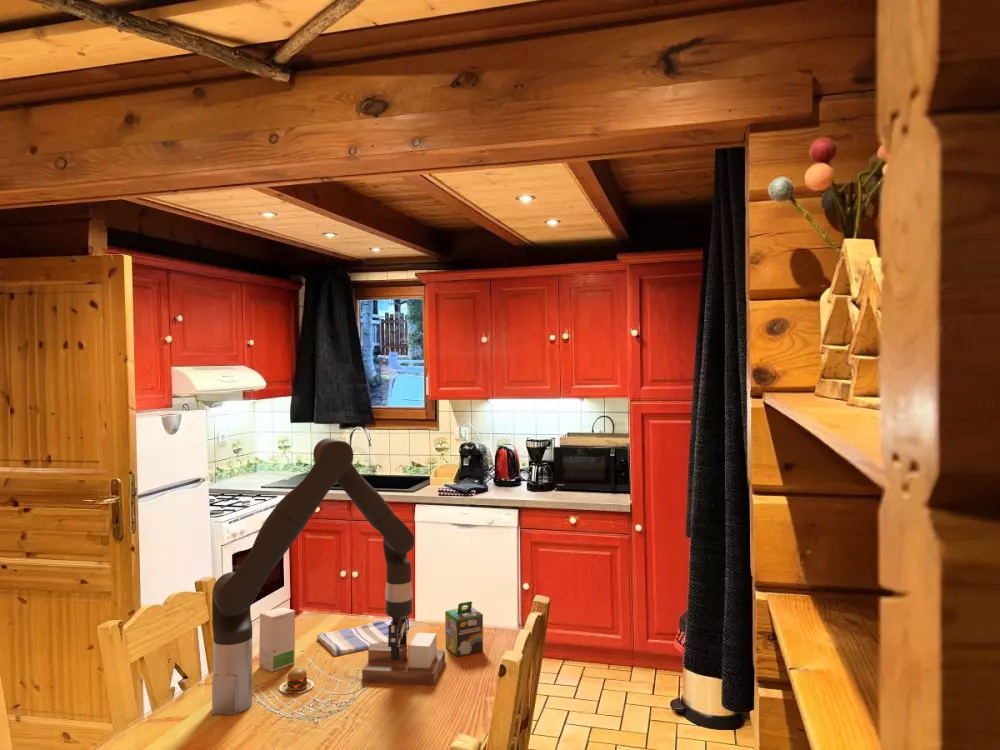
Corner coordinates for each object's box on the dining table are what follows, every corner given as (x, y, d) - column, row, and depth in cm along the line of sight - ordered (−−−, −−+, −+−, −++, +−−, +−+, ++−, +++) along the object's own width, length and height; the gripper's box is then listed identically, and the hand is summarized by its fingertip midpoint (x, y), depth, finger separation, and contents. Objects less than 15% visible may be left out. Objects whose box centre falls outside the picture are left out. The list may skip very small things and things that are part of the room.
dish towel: (315, 640, 222) (315, 631, 222) (384, 627, 235) (384, 618, 235) (332, 658, 208) (332, 649, 208) (405, 643, 220) (405, 634, 220)
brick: (408, 667, 192) (429, 668, 191) (408, 645, 192) (429, 646, 191) (416, 653, 202) (436, 654, 201) (416, 632, 202) (436, 633, 201)
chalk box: (471, 642, 220) (471, 595, 220) (484, 651, 212) (484, 603, 212) (444, 647, 215) (444, 599, 215) (456, 657, 207) (456, 607, 207)
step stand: (433, 685, 188) (433, 660, 188) (362, 681, 190) (362, 657, 190) (445, 661, 204) (445, 639, 204) (378, 658, 206) (378, 636, 206)
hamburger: (268, 686, 189) (268, 666, 189) (312, 676, 195) (312, 657, 195) (279, 704, 178) (279, 682, 178) (325, 693, 185) (325, 672, 185)
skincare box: (271, 673, 196) (271, 617, 196) (257, 667, 200) (257, 613, 200) (296, 663, 203) (296, 610, 203) (282, 658, 207) (282, 605, 207)
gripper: (405, 605, 190) (405, 664, 190) (417, 589, 204) (417, 645, 204) (379, 604, 191) (379, 663, 191) (392, 589, 205) (392, 644, 205)
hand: (399, 653), depth 198 cm, fingers open, 8 cm apart
